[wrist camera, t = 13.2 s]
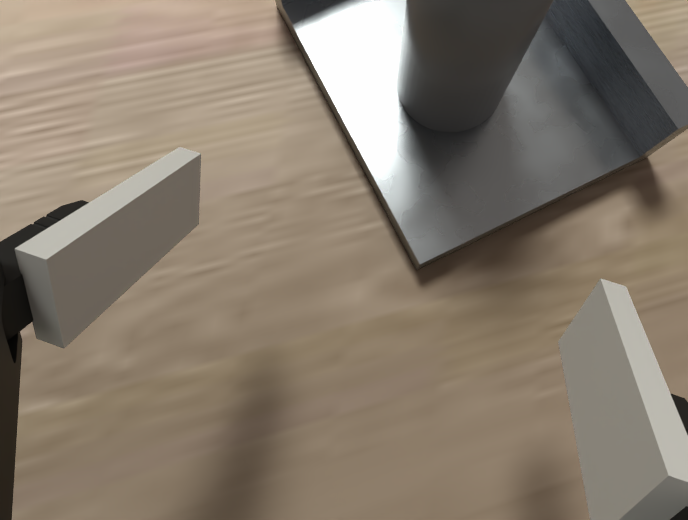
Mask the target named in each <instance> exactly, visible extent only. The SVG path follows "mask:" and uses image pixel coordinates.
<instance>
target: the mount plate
mask: <svg viewBox="0 0 688 520" xmlns="http://www.w3.org/2000/svg"><path fill="white" fill-rule="evenodd" d="M275 1H276V5H277V7H278V9H279V11H280V13H281V15H282V16H283V18H284V20H285V22H286V24H287V26H288V28H289V30H290V32H291V33H292V35H293V37H294V39H295V41H296V43H297V45H298V47H299V49H300V51H301V52H302V54H303V56H304V58H305V60H306V62H307V64H308V66H309V68H310V69H311V71H312V73H313V75H314V77H315V79H316V81H317V83H318V85H319V86H320V88H321V90H322V92H323V94H324V96H325V98H326V100H327V102H328V103H329V105H330V107H331V109H332V111H333V113H334V115H335V117H336V119H337V120H338V122H339V124H340V126H341V128H342V130H343V132H344V134H345V136H346V137H347V139H348V141H349V143H350V145H351V147H352V149H353V151H354V153H355V154H356V156H357V158H358V160H359V162H360V164H361V166H362V168H363V170H364V171H365V173H366V175H367V177H368V179H369V181H370V183H371V185H372V187H373V188H374V190H375V192H376V194H377V196H378V198H379V200H380V202H381V204H382V206H383V207H384V209H385V211H386V213H387V215H388V217H389V219H390V221H391V223H392V224H393V226H394V228H395V230H396V232H397V234H398V236H399V238H400V240H401V241H402V243H403V245H404V247H405V249H406V251H407V253H408V255H409V257H410V258H411V260H412V262H413V264H414V266H415V268H416V270H417V269H419V268H421V267H423V266H426V265H428V264H430V263H432V262H434V261H436V260H438V259H440V258H442V257H444V256H446V255H448V254H450V253H452V252H454V251H456V250H458V249H460V248H462V247H464V246H466V245H468V244H470V243H472V242H475V241H477V240H479V239H481V238H483V237H485V236H487V235H489V234H491V233H493V232H495V231H497V230H499V229H501V228H503V227H505V226H507V225H509V224H511V223H513V222H515V221H517V220H519V219H521V218H524V217H526V216H528V215H530V214H532V213H534V212H536V211H538V210H540V209H542V208H544V207H546V206H548V205H550V204H552V203H554V202H556V201H558V200H560V199H562V198H564V197H566V196H568V195H570V194H573V193H575V192H577V191H579V190H581V189H583V188H585V187H587V186H589V185H591V184H593V183H595V182H597V181H599V180H601V179H603V178H605V177H607V176H609V175H611V174H613V173H615V172H617V171H619V170H622V169H624V168H626V167H628V166H630V165H632V164H634V163H636V162H638V161H640V160H642V159H644V158H646V157H648V156H649V155H651V154H652V153H654V152H655V151H657V150H658V149H659V148H661V147H662V146H664V145H665V144H667V143H668V142H669V141H671V140H672V139H674V138H675V137H676V136H678V135H679V134H681V133H682V132H684V131H685V130H686V129H688V87H687V86H686V84H685V83H684V82H683V80H682V79H681V77H680V76H679V75H678V73H677V72H676V71H675V69H674V68H673V66H672V65H671V64H670V62H669V61H668V59H667V58H666V57H665V55H664V54H663V52H662V51H661V50H660V48H659V47H658V46H657V44H656V43H655V41H654V40H653V39H652V37H651V36H650V34H649V33H648V32H647V30H646V29H645V27H644V26H643V25H642V23H641V22H640V20H639V19H638V18H637V16H636V15H635V14H634V12H633V11H632V9H631V8H630V7H629V5H628V4H627V2H626V1H625V0H554V1H553V2H552V4H551V6H550V8H549V10H548V12H547V14H546V16H545V18H544V19H543V21H542V23H541V25H540V27H539V29H538V31H537V33H536V34H535V36H534V38H533V40H532V42H531V44H530V46H529V48H528V50H527V51H526V53H525V55H524V57H523V59H522V61H521V63H520V65H519V66H518V68H517V70H516V72H515V74H514V76H513V78H512V80H511V82H510V83H509V85H508V87H507V89H506V91H505V93H504V95H503V97H502V98H501V100H500V102H499V104H498V106H497V108H496V110H495V111H494V112H493V113H492V115H491V116H490V117H489V118H488V119H487V120H485V121H484V122H483V123H481V124H480V125H478V126H476V127H474V128H471V129H469V130H465V131H461V132H440V131H436V130H432V129H429V128H427V127H425V126H423V125H421V124H420V123H418V122H417V121H415V120H414V119H413V118H412V117H411V116H410V115H409V114H408V113H407V112H406V110H405V109H404V108H403V106H402V104H401V102H400V100H399V97H398V93H397V74H398V66H399V57H400V49H401V40H402V32H403V23H404V15H405V6H406V0H275Z"/></svg>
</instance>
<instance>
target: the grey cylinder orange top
mask: <svg viewBox="0 0 688 520" xmlns="http://www.w3.org/2000/svg"><path fill="white" fill-rule="evenodd" d="M553 1H554V0H406V6H405V15H404V23H403V32H402V40H401V49H400V57H399V66H398V74H397V93H398V97H399V100H400V102H401V104H402V106H403V108H404V109H405V110H406V112H407V113H408V114H409V115H410V116H411V117H412V118H413V119H414V120H415V121H417V122H418V123H420V124H421V125H423V126H425V127H427V128H429V129H432V130H436V131H440V132H461V131H465V130H469V129H471V128H474V127H476V126H478V125H480V124H481V123H483V122H484V121H485V120H487V119H488V118H489V117H490V116H491V115H492V113H493V112H494V111H495V110H496V108H497V106H498V104H499V102H500V100H501V98H502V97H503V95H504V93H505V91H506V89H507V87H508V85H509V83H510V82H511V80H512V78H513V76H514V74H515V72H516V70H517V68H518V66H519V65H520V63H521V61H522V59H523V57H524V55H525V53H526V51H527V50H528V48H529V46H530V44H531V42H532V40H533V38H534V36H535V34H536V33H537V31H538V29H539V27H540V25H541V23H542V21H543V19H544V18H545V16H546V14H547V12H548V10H549V8H550V6H551V4H552V2H553Z"/></svg>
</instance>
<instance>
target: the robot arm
mask: <svg viewBox="0 0 688 520" xmlns="http://www.w3.org/2000/svg"><path fill="white" fill-rule="evenodd" d="M200 168H201V153H198V152H194V151H191V150H188V149H185V148H182V147H178V148H177V149H175V150H174V151H172V152H170V153H169V154H167V155H166V156H164V157H162V158H161V159H159V160H157V161H156V162H154V163H153V164H151V165H149V166H148V167H146V168H144V169H143V170H141V171H140V172H138V173H136V174H135V175H133V176H131V177H130V178H128V179H127V180H125V181H123V182H122V183H120V184H118V185H117V186H115V187H114V188H112V189H110V190H109V191H107V192H106V193H104V194H102V195H101V196H99V197H97V198H96V199H94V200H93V201H91V202H86V201H83V200H81V201H77V202H74V203H70V204H67V205H63V206H61V207H59V208H57V209H56V210H54V211H52V212H51V213H49V214H47V216H46V217H42V218H40V219H39V220H37V221H35V222H34V224H30V225H28V226H27V227H25V228H23V229H21V230H20V231H18V232H16V233H15V234H13V235H11V236H9V237H8V238H6V239H4V240H3V241H1V242H0V520H12V503H13V487H14V470H15V453H16V437H17V420H18V403H19V387H20V370H21V353H22V338H21V334H20V331H21V330H22V329H23V328H25V327H26V326H27V325H28V324H30V323H31V322H33V326H34V330H35V334H36V338H37V339H39V340H42V341H45V342H48V343H50V344H53V345H56V346H59V347H61V348H65V347H66V346H67V345H68V344H69V343H70V342H72V341H73V340H74V339H75V338H76V337H77V336H78V335H79V334H80V333H81V332H82V331H83V330H85V329H86V328H87V327H88V326H89V325H90V324H91V323H92V322H93V321H94V320H95V319H96V318H98V317H99V316H100V315H101V314H102V313H103V312H104V311H105V310H106V309H107V308H108V307H109V306H111V305H112V304H113V303H114V302H115V301H116V300H117V299H118V298H119V297H120V296H121V295H122V294H124V293H125V292H126V291H127V290H128V289H129V288H130V287H131V286H132V285H133V284H134V283H135V282H137V281H138V280H139V279H140V278H141V277H142V276H143V275H144V274H145V273H146V272H147V271H148V270H150V269H151V268H152V267H153V266H154V265H155V264H156V263H157V262H158V261H159V260H160V259H161V258H163V257H164V256H165V255H166V254H167V253H168V252H169V251H170V250H171V249H172V248H173V247H174V246H176V245H177V244H178V243H179V242H180V241H181V240H182V239H183V238H184V237H185V236H186V235H187V234H189V233H190V232H191V231H192V230H193V229H194V228H195V227H196V226H197V225H198V224H199V200H200ZM558 343H559V349H560V354H561V360H562V366H563V371H564V377H565V382H566V388H567V394H568V399H569V405H570V410H571V416H572V421H573V427H574V433H575V438H576V444H577V449H578V455H579V460H580V466H581V472H582V477H583V483H584V488H585V494H586V500H587V505H588V511H589V516H590V520H688V402H687V401H686V400H685V398H682V397H679V396H676V395H673V394H670V392H669V389H668V387H667V384H666V382H665V380H664V377H663V375H662V372H661V370H660V367H659V365H658V363H657V360H656V358H655V355H654V353H653V351H652V348H651V346H650V343H649V341H648V338H647V336H646V334H645V331H644V329H643V326H642V324H641V322H640V319H639V317H638V314H637V312H636V309H635V307H634V305H633V302H632V300H631V297H630V295H629V293H628V290H627V288H626V286H623V285H620V284H617V283H613V282H610V281H607V280H604V279H601V278H600V280H599V281H598V283H597V284H596V286H595V287H594V289H593V290H592V292H591V293H590V295H589V296H588V298H587V299H586V301H585V302H584V304H583V305H582V307H581V308H580V310H579V311H578V313H577V314H576V316H575V317H574V319H573V320H572V322H571V323H570V325H569V326H568V328H567V329H566V331H565V332H564V334H563V335H562V337H561V338H560V340H559V341H558Z"/></svg>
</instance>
